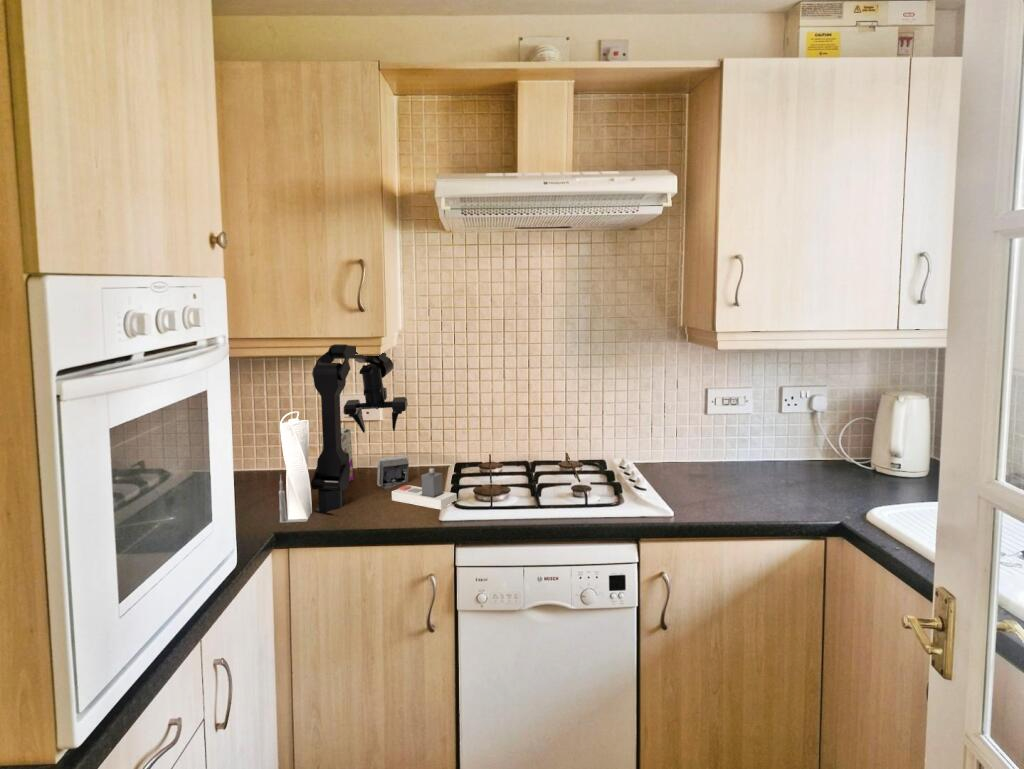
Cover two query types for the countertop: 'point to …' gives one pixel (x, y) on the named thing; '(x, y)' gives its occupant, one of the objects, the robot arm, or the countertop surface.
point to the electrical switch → (392, 471)
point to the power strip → (422, 497)
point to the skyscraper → (295, 471)
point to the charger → (432, 484)
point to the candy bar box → (345, 449)
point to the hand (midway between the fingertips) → (379, 431)
